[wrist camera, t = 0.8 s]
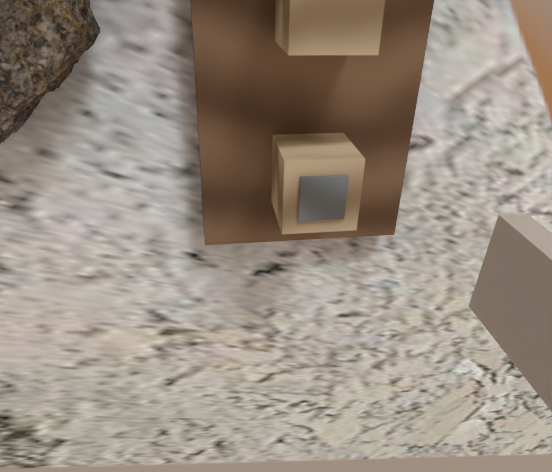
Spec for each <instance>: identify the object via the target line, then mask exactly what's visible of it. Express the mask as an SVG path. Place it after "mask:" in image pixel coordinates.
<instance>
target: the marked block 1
mask: <svg viewBox="0 0 552 472" xmlns="http://www.w3.org/2000/svg"><path fill="white" fill-rule="evenodd" d="M364 167H365V158H364V157H363V155H362V154H361V153H360V152H359V151H358V149H357V148H356V147H355V146H354V145H353V143H352V142H351V141H350V140H349V139H348V137H347V136H346V135H345V134H344V133H318V134H277V135H273V144H272V191H271V201H272V204H273V208H274V211H275V214H276V217H277V220H278V223H279V227H280V230H281V233H282V234H298V233H317V232H336V231H354V230H357V223H358V215H359V207H360V199H361V191H362V183H363V175H364Z"/></svg>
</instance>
